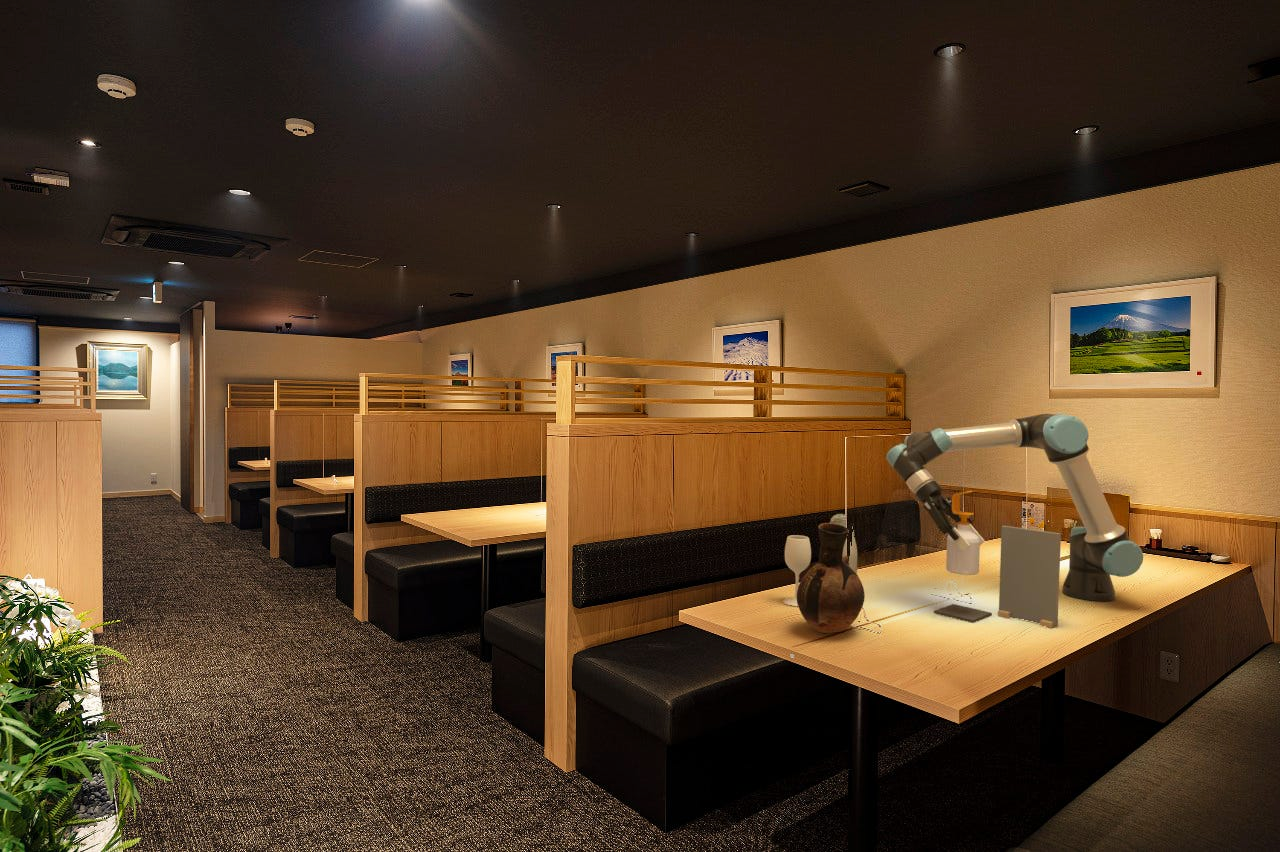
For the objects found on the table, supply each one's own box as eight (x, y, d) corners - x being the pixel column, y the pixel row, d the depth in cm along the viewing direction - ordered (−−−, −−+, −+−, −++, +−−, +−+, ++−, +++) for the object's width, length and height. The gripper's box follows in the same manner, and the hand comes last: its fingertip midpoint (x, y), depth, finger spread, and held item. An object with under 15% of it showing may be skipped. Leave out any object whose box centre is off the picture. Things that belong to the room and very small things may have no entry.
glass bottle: (824, 595, 245) (826, 510, 243) (856, 598, 242) (858, 512, 240) (822, 603, 235) (824, 515, 234) (855, 606, 232) (858, 517, 231)
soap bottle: (969, 576, 217) (972, 493, 216) (940, 570, 224) (942, 489, 223) (984, 572, 223) (986, 490, 222) (955, 566, 230) (957, 487, 229)
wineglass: (777, 602, 235) (778, 537, 234) (792, 597, 241) (794, 533, 241) (800, 608, 229) (802, 541, 228) (816, 603, 235) (817, 537, 234)
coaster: (953, 606, 234) (953, 603, 234) (991, 615, 224) (991, 612, 224) (933, 613, 226) (934, 610, 226) (973, 622, 217) (973, 620, 217)
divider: (1003, 612, 227) (1006, 525, 226) (1059, 625, 215) (1063, 532, 214) (996, 615, 224) (999, 526, 223) (1052, 628, 212) (1056, 534, 211)
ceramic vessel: (822, 616, 222) (825, 516, 220) (877, 629, 209) (880, 524, 208) (781, 631, 207) (784, 524, 206) (837, 647, 194) (840, 533, 193)
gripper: (933, 492, 241) (981, 548, 230) (898, 497, 227) (947, 558, 216) (950, 477, 237) (999, 534, 226) (914, 482, 223) (965, 543, 212)
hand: (973, 545), depth 221 cm, fingers closed on soap bottle, 9 cm apart
